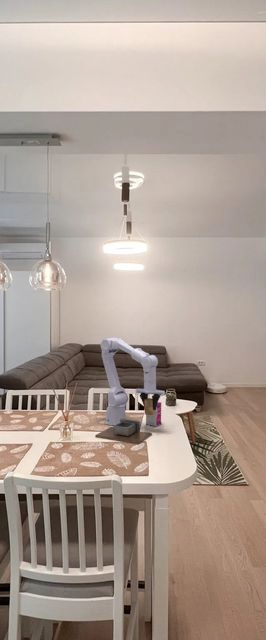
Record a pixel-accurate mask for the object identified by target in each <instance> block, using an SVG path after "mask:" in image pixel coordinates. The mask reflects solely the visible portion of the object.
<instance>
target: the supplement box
mask: <svg viewBox="0 0 266 640" xmlns="http://www.w3.org/2000/svg"><path fill="white" fill-rule="evenodd" d="M160 425H162V402H161V401H158V403H157V407H156V414H154V415H145V426H149V427H153V428H156V427H158V426H160Z"/></svg>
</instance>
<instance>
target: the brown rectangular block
mask: <svg viewBox="0 0 266 640" xmlns="http://www.w3.org/2000/svg"><path fill="white" fill-rule="evenodd" d="M154 414H156V410H153V400H152V397H150V398H149V397H148V398H147V399H145V409H144V415H145V416H146V415H154Z"/></svg>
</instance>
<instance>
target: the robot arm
mask: <svg viewBox="0 0 266 640" xmlns="http://www.w3.org/2000/svg"><path fill="white" fill-rule="evenodd" d="M99 346H100V349H101V359H102V363H103V366H104V369H105V370H104V371H105V373H106V377H107V381H108V385H109V390H108V393H107V397H108V398H107V402H108V403H107V404H108V406H107V407H106V411H105V417H106V418H105V421H106V422H105V425H109V426H114V425H116V424H118V423H120V419H126V406H127V403H128V402H129V395H128V393H127V392H126V390H125V388H124V387H122V385H121V382H120V379H119V375H118V371H117V368H116V367H117V366H116V363H115V361H114V356H115V354H116V353H117V352H118V351H119V350H121V351H123V352H125V353H127V354H129V355H131V356H130V357H131V359H132V360H135V362H138V364H139V363H140V364H141V366H142V368H143V388H139V387H138V388H135V394H139V398H140V400H141V401H142V405H143V409H144V410H145V399H147V398H149V395H151V398H152V400H153V410H156V407H157V403H158V402H159V400H160V398H161V396H162V397H164V396H165V394H166V392H165V390H160V389H157V375H156V374H157V366H158V364H159V359H158V357H157V356H156V355H154V354H151V355H150V354H149V352H145V351H144V350H142V348H140V347H135V348H134V347H133V346H131V345H130V344H129V343H127V342H125V341H124V340H123V339H122V338H119V337H118V336H116V337H110V338H109V337H108V338H107V337H105V338H103V339H102V340H101V343H100V345H99Z"/></svg>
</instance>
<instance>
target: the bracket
mask: <svg viewBox="0 0 266 640" xmlns="http://www.w3.org/2000/svg"><path fill="white" fill-rule="evenodd" d="M140 426H141V424H140V420H134V419H128V418H125V419H120V423H118V424H116V425H113V426H110V427H108V428H105V429H104V430H103V431H101V432H99V433H96V434H95V435H94V436H95V438H99V439H102V440H103V439H104V440H110V441H115V442H122V443H125V444H127V443H128V444H134V445H140V444H141V443H142V442H143V443H144V441H145V440H147V439H148V438H150V437H151V436H153V432H147V431H141V427H140Z"/></svg>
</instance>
